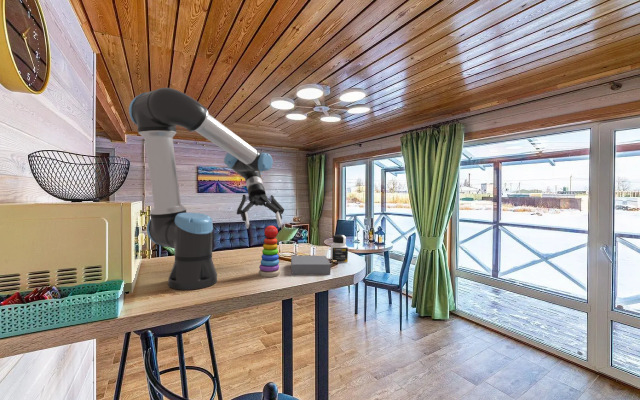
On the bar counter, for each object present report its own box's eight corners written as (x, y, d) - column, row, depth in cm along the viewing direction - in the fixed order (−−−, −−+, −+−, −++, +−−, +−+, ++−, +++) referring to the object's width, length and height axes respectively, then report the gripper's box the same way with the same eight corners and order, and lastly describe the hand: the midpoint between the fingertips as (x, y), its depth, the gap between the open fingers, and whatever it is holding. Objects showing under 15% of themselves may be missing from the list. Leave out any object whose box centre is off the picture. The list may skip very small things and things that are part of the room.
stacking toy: (278, 278, 107) (279, 227, 106) (256, 277, 107) (257, 226, 106) (281, 272, 115) (282, 224, 114) (261, 271, 115) (262, 224, 114)
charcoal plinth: (291, 274, 111) (291, 264, 111) (290, 264, 126) (291, 255, 126) (330, 274, 113) (330, 264, 113) (325, 264, 128) (325, 255, 128)
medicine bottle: (332, 262, 132) (332, 236, 132) (330, 258, 139) (331, 233, 139) (347, 262, 133) (348, 236, 133) (345, 258, 140) (345, 234, 140)
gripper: (279, 195, 140) (290, 230, 127) (226, 194, 129) (232, 232, 116) (283, 184, 135) (295, 219, 122) (228, 182, 124) (234, 221, 111)
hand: (264, 226), depth 119 cm, fingers open, 13 cm apart
